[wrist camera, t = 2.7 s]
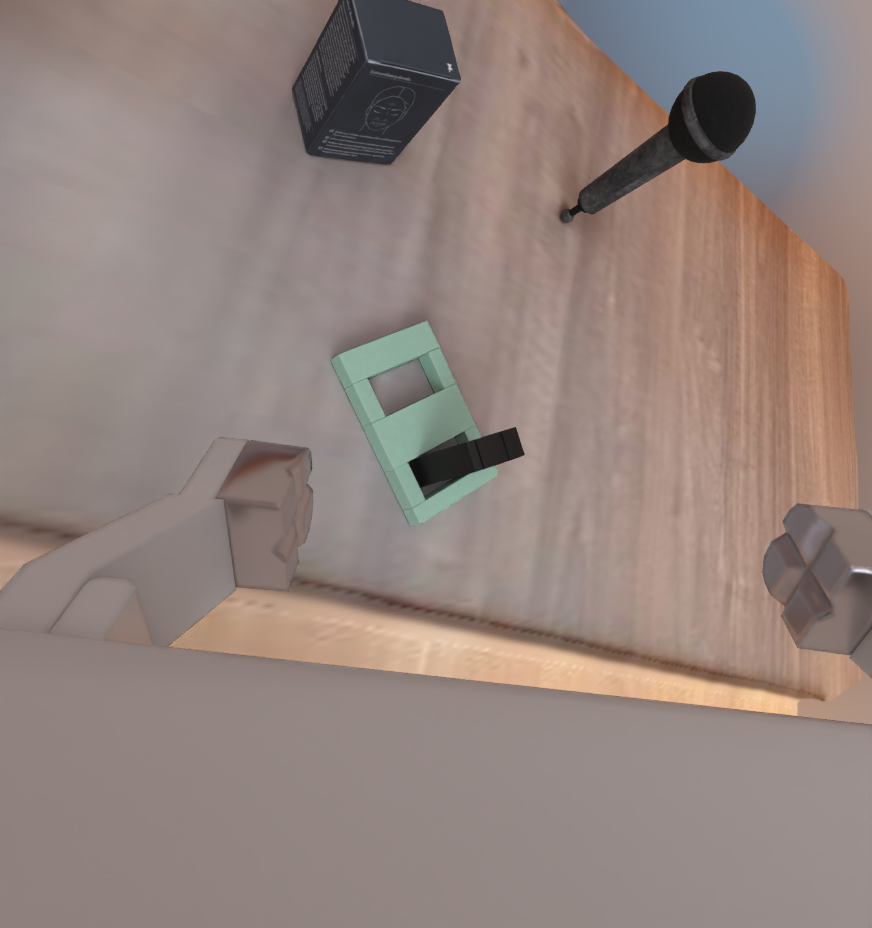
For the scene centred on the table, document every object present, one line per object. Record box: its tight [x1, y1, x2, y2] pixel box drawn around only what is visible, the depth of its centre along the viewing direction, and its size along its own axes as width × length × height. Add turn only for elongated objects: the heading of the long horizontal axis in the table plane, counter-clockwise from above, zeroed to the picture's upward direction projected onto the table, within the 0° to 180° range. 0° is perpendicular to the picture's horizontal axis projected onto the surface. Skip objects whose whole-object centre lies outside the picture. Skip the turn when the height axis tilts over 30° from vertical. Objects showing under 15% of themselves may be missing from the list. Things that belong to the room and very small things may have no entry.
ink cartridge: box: [410, 427, 524, 488], centre depth 46 cm, size 5×2×8 cm, turn 111°
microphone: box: [561, 71, 756, 223], centre depth 56 cm, size 7×7×20 cm
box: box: [293, 0, 461, 164], centre depth 46 cm, size 8×6×11 cm
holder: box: [331, 321, 498, 526], centre depth 49 cm, size 14×9×2 cm, turn 31°
